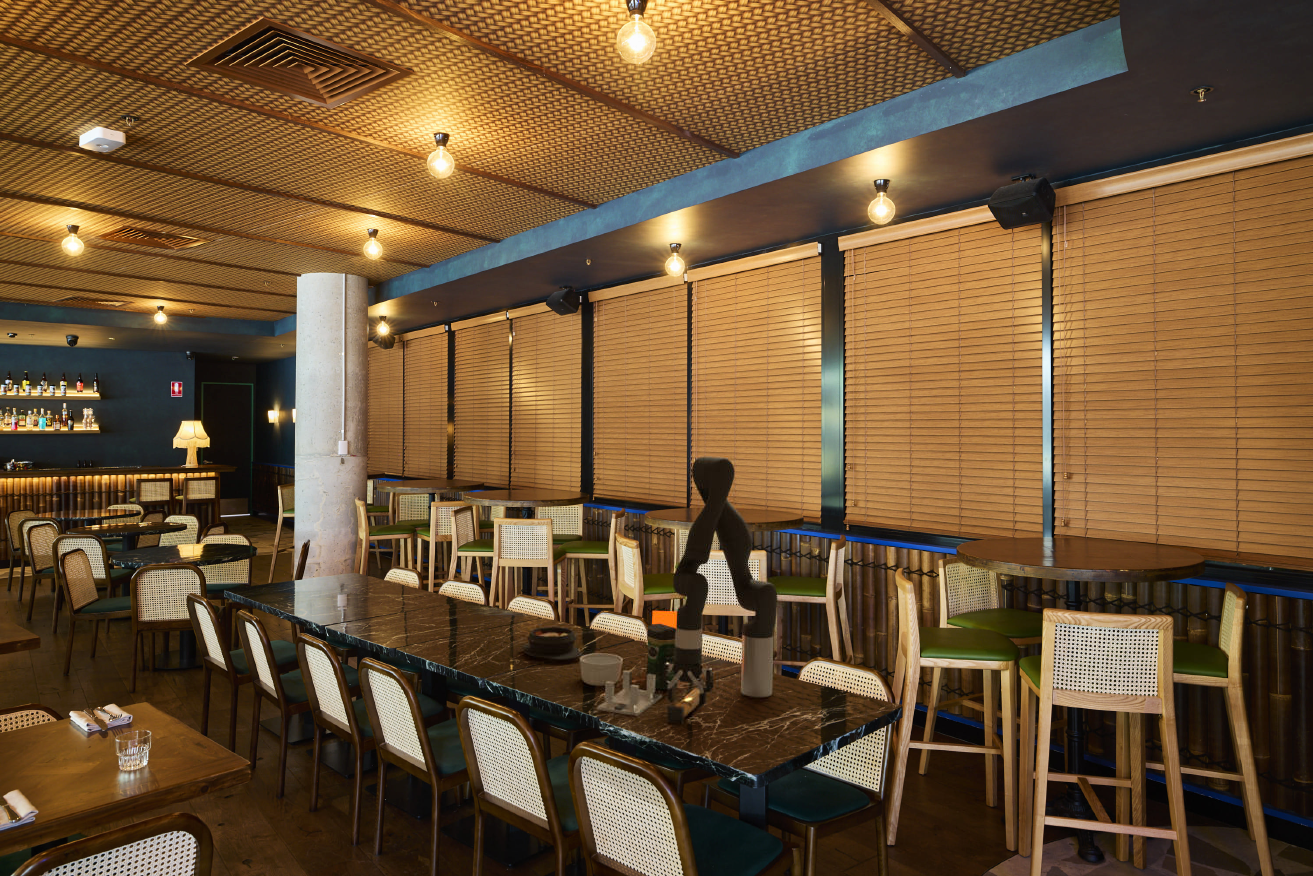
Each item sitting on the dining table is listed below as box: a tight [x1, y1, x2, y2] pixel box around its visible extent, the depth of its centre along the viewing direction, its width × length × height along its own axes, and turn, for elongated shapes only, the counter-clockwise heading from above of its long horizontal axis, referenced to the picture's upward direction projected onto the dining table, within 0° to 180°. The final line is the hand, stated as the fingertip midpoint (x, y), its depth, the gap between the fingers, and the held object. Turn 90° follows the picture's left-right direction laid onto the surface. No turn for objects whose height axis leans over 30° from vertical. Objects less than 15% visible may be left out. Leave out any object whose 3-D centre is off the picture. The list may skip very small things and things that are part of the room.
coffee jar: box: [645, 623, 678, 691], centre depth 240 cm, size 10×8×19 cm
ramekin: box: [579, 652, 623, 687], centre depth 244 cm, size 13×13×7 cm
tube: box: [666, 688, 700, 725], centre depth 216 cm, size 19×4×4 cm, turn 158°
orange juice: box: [651, 610, 677, 628], centre depth 253 cm, size 8×9×20 cm
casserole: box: [521, 626, 584, 661], centre depth 272 cm, size 25×19×8 cm
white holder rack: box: [596, 670, 663, 717], centre depth 223 cm, size 18×12×7 cm, turn 158°
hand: (686, 704), depth 216 cm, fingers open, 8 cm apart
